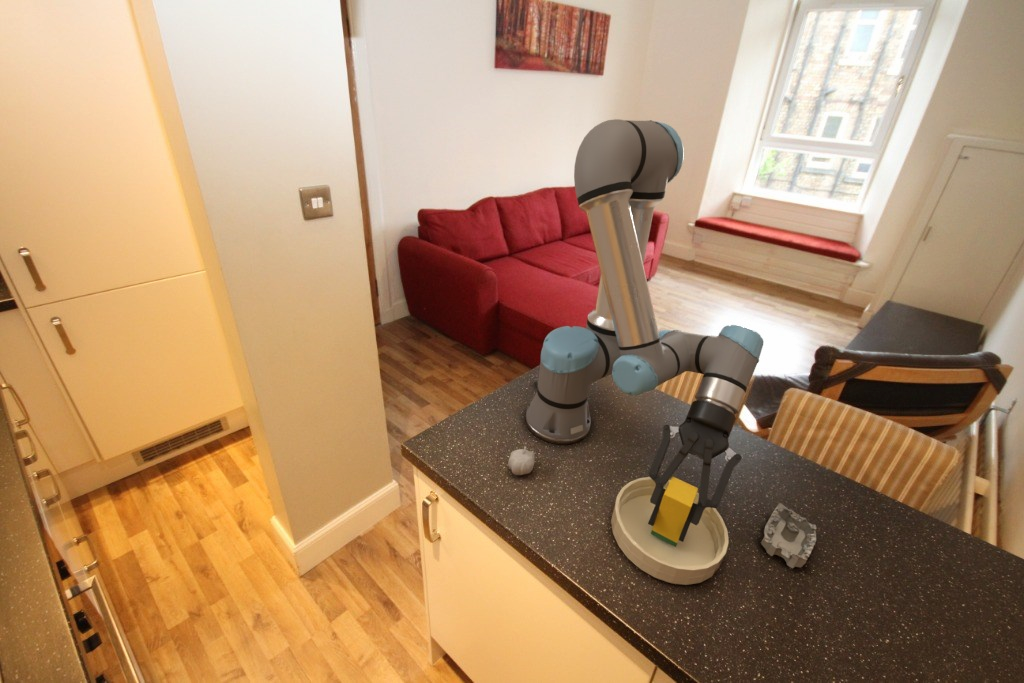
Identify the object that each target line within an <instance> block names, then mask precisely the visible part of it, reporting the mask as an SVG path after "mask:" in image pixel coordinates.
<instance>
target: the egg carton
mask: <svg viewBox="0 0 1024 683" xmlns="http://www.w3.org/2000/svg"><path fill="white" fill-rule="evenodd" d="M816 531H817V525H816V524H815V523H810V522H809V521H808V520H807V518H806V517H803V516H801V515H800V514H799V513H798V512H797V513H796V512H795V511H794V510H793V509H788V507H786V506H785V505H784V504H783V503H782V502H779V503H778V504H777V506H776V507H775V508H774V510H773V512H772V513H771V514H770V516H769V518H768V521H767V522H766V524H765V526H764V529H763V534H764V536H763V539H762V540H761V542H760V544H761V546H762V547H763V548H764V550H765V551H766V554H768V555H769V556H770V557H773V556H778V557H781V558H782V559H783V560H784V561H785V562H786V566H788V567H789V568H791V569H794V568H795V567H796V568H803V566H804V565H805V564H806V563H807V560H808V558H809V557H810V556H811V554H812V551H813V549H814V546H815V545H816V542H817V532H816Z"/></svg>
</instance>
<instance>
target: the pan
mask: <svg viewBox="0 0 1024 683" xmlns="http://www.w3.org/2000/svg"><path fill="white" fill-rule="evenodd" d="M670 480H671V479H669V480H668V482H667V483H666V485H665V486H664V489H667V487H668V484H669V482H670ZM655 486H656V484H655V482H654V481H653V480H652V479H651V478H650V477H649V476H647V477H639V478H637V479H634V480H631V481H629V482H627V483H626V484H625V485H624V486H623V487H622V488H621V489H620V491H619V492H618V494H617V496H616V497H615V502H614V505H613V508H612V513H611V519H610V524H611V530H612V535H613V537H614V539H615V541H616V544H617V545H618V547H619V549H620V550H621V551H622V553H623V554H624V555H625V557H626V558H627V559H628V560H629V561H630V562H631V563H633V564H634V565H635V566H636V567H637V568H638V569H639V570H641V571H642V572H644V573H646V574H648V575H650V576H651V577H653V578H655V579H658V580H660V581H664V582H666V583H670V584H675V585H682V586H683V585H684V586H687V585H688V586H689V585H693V584H700V583H703V582H704V581H706V580H709V579H710V578H712V577H713V576H714V574H715V573H717V571H718V570H719V568H720V566H721V565H722V562H723V560H724V558H725V556H726V554H727V551H728V548H729V543H730V542H729V541H730V540H729V530H728V528H727V525H726V524H725V521H724V519H723V517H722V516H721V514H720V512H719V510H717V508H709V507H707V508H705V509H704V511H703V513H702V516H701V519H700V521H699V523H698V524H697V525H694V524H692V523H690V525H689V528H688V531H687V533H686V536H685V538H684V541H683V542H682V541H680V540H679V541H678V543H677V546H676V547H675V546H673V545H671V544H669V543H667V542H665V541H663V540H662V539H660V538H658V537H656V536H654V535H652V534H651V531H652V528H653V526H651V525H649V524H648V522H649V520H650V517H651V515H652V512H653V510H654V507H655V505H654V504H652V503H650V499H651V496H652V494H653V491H654V489H655ZM698 499H699V491H697V494H696V497H695V499H694V502H693V503H695V504H698Z"/></svg>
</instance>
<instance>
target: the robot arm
mask: <svg viewBox="0 0 1024 683" xmlns="http://www.w3.org/2000/svg"><path fill="white" fill-rule="evenodd" d="M577 149H578V150H577V153H576V156H575V162H574V169H573V170H574V171H573V180H574V190H575V196H576V200H577V204H578V208H579V210H581V211H582V212H584V213H586V217H587V222H588V225H589V229H590V234H591V238H592V241H593V246H594V250H595V255H596V258H597V262H598V267H599V271H600V277H599V284H598V290H597V297H596V303H595V308H594V309H592V310H591V311H590V312H588V314H587V320H586V324H585V327H582V326H577V325H573V326H570V325H565V326H561V327H557V328H555V329H553V330H551V331H550V332H549V333H548V334H547V335H546V336H545V338H544V340H543V343H542V348H541V350H540V360H539V370H538V379H537V381H534V382H533V383H534V386H535V388H536V392H535V394H534V396H533V398H532V399H531V402H530V404H529V405H528V407H527V409H526V412H525V424H526V427H527V428H528V430H529V431H530V432H531V433H532V435H534V436H535V437H536V438H538V439H540V440H542V441H544V442H547V443H551V444H555V445H571V444H576V443H578V442H580V441H583V440H584V439H585V438H586V437H587V436H588V434H589V432H590V430H591V424H592V423H591V422H592V421H591V419H592V418H591V412H590V408H589V407H590V406H589V403H588V402H589V401H588V398H589V393H590V389H591V385H592V384H593V383H594V382H596V381H599V380H601V379H604V378H606V377H608V376H611V375H612V380H613V382H614V384H615V386H616V387H617V388H618V390H620V391H621V392H622V393H624V394H625V395H628V396H633V397H635V396H639V395H642V394H645V393H647V392H650V391H654V390H655V389H656V388H657V387H659V386H661V385H662V384H664V383H667V382H668V381H671V380H672V379H675V378H676V377H678V376H680V375H682V374H684V373H685V372H690V373H696V374H700V375H702V377H701V379H700V382H699V385H698V387H697V389H696V392H695V395H694V399H695V400H693V401H692V402H691V405H690V407H689V410H688V412H687V414H686V417H685V418H684V421H683V422H682V423H681V424H680V425H679V426H673V425H672V426H671V425H669V424H664V425H663V427H662V438H661V440H660V444H659V446H658V449H657V451H656V453H655V456H654V459H653V462H652V463H651V464H652V465H651V466H650V468H649V472H648V477H650V478H651V479H652V480H653V481H654V482H655V484H656V486H655V489H654V491H653V494H652V496H651V499H650V503H652V504H654V505H655V507H654V510H653V512H652V515H651V517H650V520H649V522H648V524H649V525H651V526H653V525H654V523H655V520H656V517H657V514H658V511H659V507H660V504H661V501H662V498H663V495H664V493H665V491H666V489H664V486H665V485H666V483H667V482H668V480H671V478H672V476H673V475H674V474H675V472H676V471H677V470H678V468H679V467H680V465H681V464H682V462H683V461H684V460H685V459H686V458H687V457H688V455H692V456H696V457H698V458H699V459H701V460H702V466H701V475H700V484H699V490H698V493H699V499H698V504H695V503H693V504H692V507H691V509H690V512H689V515H688V517H687V520H686V522H685V524H684V527H683V529H682V532H681V535H680V537H679V540H680V541H682V542H683V541H684V538H685V536H686V533H687V531H688V528H689V525H690V523H692V524H694V525H697V524H698V523H699V521H700V519H701V516H702V513H703V511H704V509H705V508H707V507H709V508H715V509H718V508H719V506H720V504H721V501H722V498H723V496H724V493H725V491H726V488H727V486H728V484H729V481H730V478H731V476H732V473H733V470H734V468H735V467H736V466H738V464H739V463H740V462H741V461H742V459H743V456H742V455H741V454H740V453H736V451H734V450H733V449H732V448H730V443H729V438H730V435H731V434H732V430H733V427H734V424H735V422H736V420H737V418H736V415H737V414H739V412H740V409H741V407H742V404H743V401H744V399H745V397H746V393H747V390H748V387H749V385H750V382H751V380H752V377H753V375H754V372H755V370H756V368H757V365H758V364H759V362H760V356H761V353H762V350H763V346H764V339H763V337H762V336H761V334H760V333H758V332H757V331H756V330H754V329H752V328H750V327H747V326H744V325H739V324H731V325H725V326H723V328H722V329H721V330H720V332H719V333H718V335H707V334H700V333H694V332H689V331H688V332H686V331H682V330H678V329H672V330H671V329H661V330H660V331H659V328H658V324H657V320H656V319H657V318H656V315H655V311H654V306H653V302H652V297H651V292H650V289H649V284H648V280H647V275H646V271H645V266H644V262H645V258H646V252H647V247H648V242H649V237H650V232H651V227H652V222H653V221H652V220H653V216H654V211H655V207H656V206H658V205H659V204H660V203H662V201H664V200H665V196H666V191H667V186H668V184H669V183H671V181H673V180H674V178H675V177H677V176H678V174H679V173H680V171H681V169H682V167H683V163H684V158H685V149H684V143H683V140H682V138H681V136H680V135H679V133H678V132H677V130H676V129H675V128H674V127H672V126H671V125H670V124H667V123H665V122H660V121H654V120H651V119H650V120H631V119H630V120H629V119H628V120H627V119H619V118H618V119H617V118H613V119H607V120H604V121H601V122H600V123H598V124H597V125H594V127H593V128H591V129H590V130H589V131H588V132H587V133H586V135H585V136H584V137H583V139H582V141H581V143H580V145H579V147H578V148H577ZM677 434H679V438H680V441H681V445H682V446H681V448H680V449H679V450H678V452H677V454H676V455H675V456H674V458H673V459H672V461H671V462H670V463H669V465H667V467H666V469H665V470H664V471H663V472H662V474H661V475H658V474H659V472H660V469H661V466H662V464H663V461H664V459H665V457H666V454H667V451H668V449H669V446H670V443H671V440H673V439H674V438H676V435H677ZM723 453H725V457H724V461H725V463H726V464H725V466H724V468H723V470H722V473H721V475H720V477H719V480H718V482H717V486H716V488H715V491H714V492H713V495H712V498H711V499H708V493H709V492H708V491H709V484H710V483H709V482H710V474H711V466H712V460H713V459H715V458H716V457H718V456H720V455H721V454H723Z"/></svg>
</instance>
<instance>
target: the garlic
mask: <svg viewBox="0 0 1024 683" xmlns="http://www.w3.org/2000/svg"><path fill="white" fill-rule="evenodd" d="M527 447H528V446H527V445H524V446H523V448H519V449H514V450H512V451H511V452H510V456H509V458H508V462H507V465H508V468H509V469H510V470H511V473H512V474H513V475H515V476H523V475H529V474H530V473H531V472H532V471H533V469H534V466H535V464H536V461H535V459H536V455H535V453H534V452H533V451H532V450H531V451H530V450H528V449H527Z"/></svg>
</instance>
